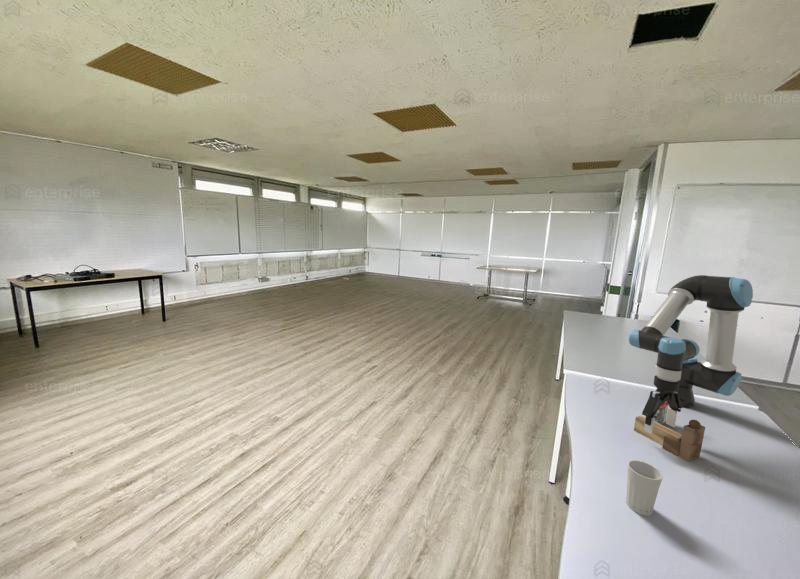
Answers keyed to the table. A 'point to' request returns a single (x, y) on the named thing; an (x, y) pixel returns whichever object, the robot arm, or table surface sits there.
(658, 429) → the rail
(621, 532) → the table surface
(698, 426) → the brown domed block
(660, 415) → the ink box
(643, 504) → the cup
